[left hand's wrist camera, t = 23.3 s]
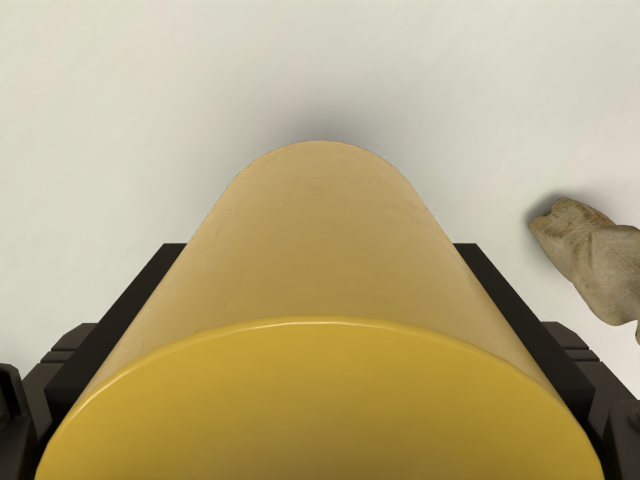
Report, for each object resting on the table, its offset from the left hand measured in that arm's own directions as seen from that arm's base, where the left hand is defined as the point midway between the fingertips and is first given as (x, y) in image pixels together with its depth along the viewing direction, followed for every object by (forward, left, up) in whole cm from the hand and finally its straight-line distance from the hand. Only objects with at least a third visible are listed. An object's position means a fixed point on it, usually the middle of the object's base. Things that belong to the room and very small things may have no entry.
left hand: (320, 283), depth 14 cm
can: (0, 0, -3) cm, 3 cm away
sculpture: (-4, -20, -21) cm, 30 cm away
